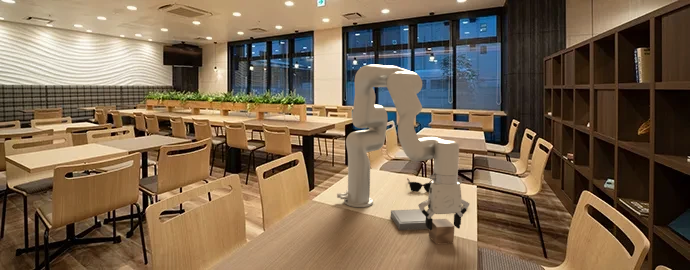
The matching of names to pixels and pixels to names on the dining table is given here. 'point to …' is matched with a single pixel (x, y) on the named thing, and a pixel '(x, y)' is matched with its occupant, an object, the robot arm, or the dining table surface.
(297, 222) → the dining table surface
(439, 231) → the cube
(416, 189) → the sunglasses
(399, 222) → the tray
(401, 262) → the dining table surface
